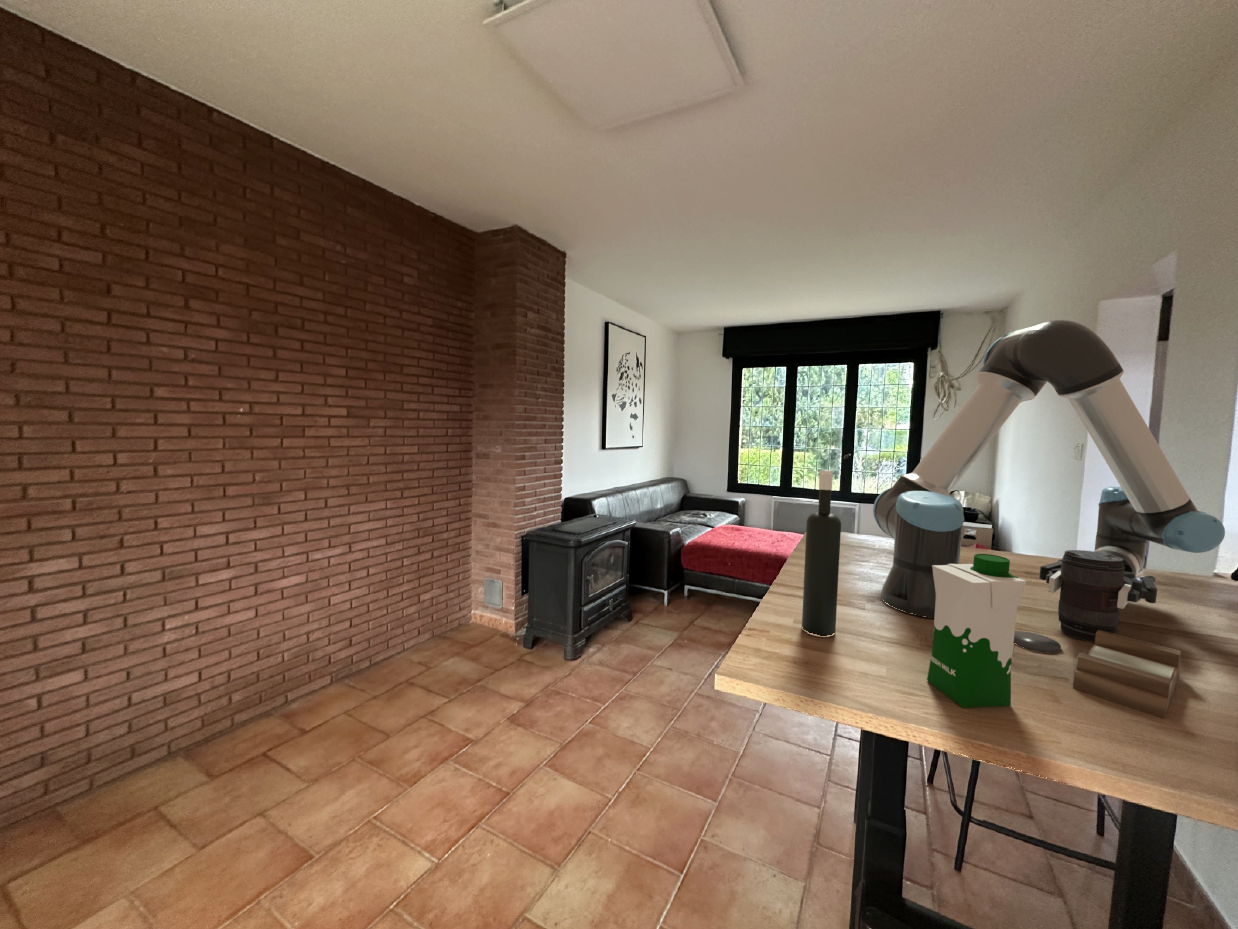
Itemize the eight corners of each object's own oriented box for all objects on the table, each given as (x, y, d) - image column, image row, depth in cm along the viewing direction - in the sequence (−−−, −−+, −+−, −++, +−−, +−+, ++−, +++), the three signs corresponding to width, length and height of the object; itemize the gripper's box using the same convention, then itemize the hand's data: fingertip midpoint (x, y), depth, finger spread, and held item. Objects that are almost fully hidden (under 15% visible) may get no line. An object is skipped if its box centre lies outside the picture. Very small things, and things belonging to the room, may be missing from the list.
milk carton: (1023, 709, 66) (1036, 567, 64) (960, 712, 65) (972, 568, 63) (971, 675, 74) (981, 548, 72) (915, 677, 74) (924, 549, 72)
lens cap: (1015, 650, 83) (1016, 644, 83) (1002, 633, 89) (1002, 628, 89) (1068, 658, 80) (1068, 652, 80) (1050, 640, 87) (1050, 635, 87)
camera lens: (1099, 628, 91) (1107, 550, 89) (1128, 648, 83) (1137, 563, 82) (1046, 622, 93) (1053, 546, 92) (1069, 640, 86) (1077, 558, 84)
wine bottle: (835, 627, 91) (843, 469, 88) (835, 640, 86) (843, 473, 82) (802, 622, 93) (810, 468, 90) (800, 634, 88) (807, 471, 85)
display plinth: (1164, 718, 64) (1168, 686, 63) (1072, 687, 71) (1076, 658, 71) (1178, 677, 74) (1181, 649, 74) (1096, 653, 81) (1099, 628, 81)
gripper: (1186, 602, 90) (1172, 635, 76) (1040, 572, 107) (1008, 595, 93) (1191, 563, 89) (1178, 589, 76) (1044, 539, 106) (1011, 557, 92)
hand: (1084, 592), depth 84 cm, fingers closed on camera lens, 8 cm apart
